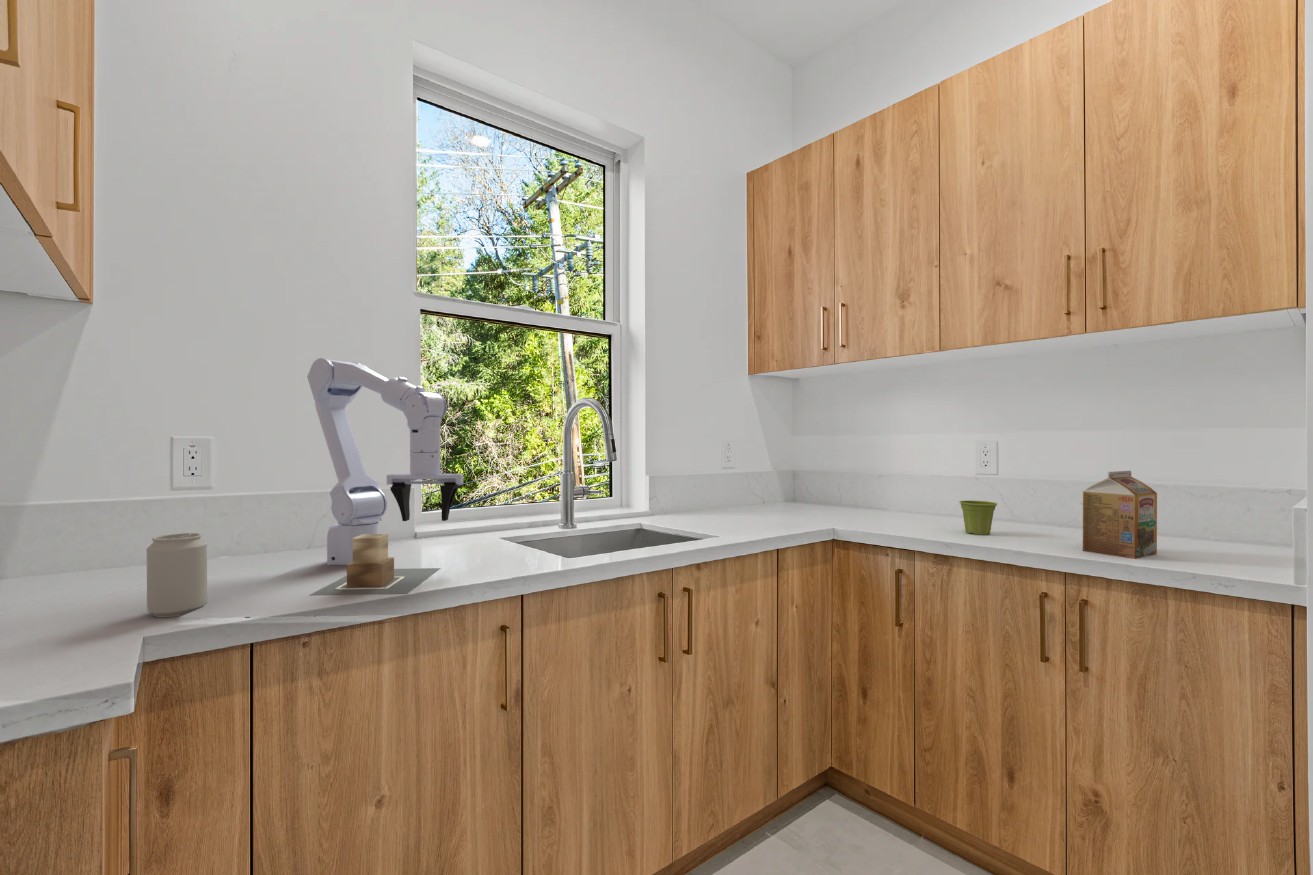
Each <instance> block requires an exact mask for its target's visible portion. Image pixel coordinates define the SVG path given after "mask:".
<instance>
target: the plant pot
mask: <svg viewBox="0 0 1313 875" xmlns="http://www.w3.org/2000/svg"><path fill="white" fill-rule="evenodd" d="M958 503H959V504H960V507H961V509H962V515H963V522H964V523H963V524H964V531H965V533H966V534H973V535H977V536H978V535H980V536H985V535H990V534H991V530H992V523H993V518H994V512H995V510H996V506H997V505H998V503H997V502H993V501H986V500H984V501H983V500H959V502H958Z"/></svg>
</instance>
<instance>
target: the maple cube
mask: <svg viewBox="0 0 1313 875" xmlns="http://www.w3.org/2000/svg"><path fill="white" fill-rule="evenodd" d="M388 558H389V534H388V533H379V534H362V535H360V536H357V537H355V538H353V564H379V563H381V562H383V561H384V560H386V559H388Z"/></svg>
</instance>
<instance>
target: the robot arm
mask: <svg viewBox="0 0 1313 875" xmlns="http://www.w3.org/2000/svg"><path fill="white" fill-rule="evenodd" d="M408 380H409V379H408V378H406V377H404V376H398V377H392V378H390V379H388V378H387V377H385V376H383V375H382V374H380V373H378V372H376V371H374V370H372V369H371V368H369V367H368V366H367V365H366V364H361V363H360V362H354V361H352V362H349V361H343V360H342V361H341V360H333V359H328V358H323V357H320V358H317V359H315V360H314V361H313V362H312V364H311V366H310V369H309V371H308V374H307V381H308V384H309V387H310V391H311V394H312V397H313V400H314V405H315V410H316V413H317V417H318V419H319V424H320V426H321V429H322V432H323V436H324V439H325V442H326V446H327V448H328V453H329V455H330V457H331V462H332V465H333V467H334V471H335V474H336V478H337V481H338V482H337V483H336V484H335V486H333V487H332V489H331V490H330V492H329V496H330V499H331V506H330V509H331V514H332V515H333V517H334V519H335V520H336V521H337V523H336V522H335V523H333V524H332V523H331V525H330V527H329V528H328V531H327V535H326V564H327V565H328V566H329V565H333V566H335V565H343V566H345V565H346V566H347V564H349V563H351V562H353V538H355V537H357V536H360V535H362V534H380V526H379V522H381V521H382V517H383V516H384V515H385V514H386V513H387V510H388V509H387V508H388V499H387V497H386V495H385V493H384V492H383V491H382V490H381V487H380V486H379V482H378V481H377V480H375V479H374V478H372V477H371V476H369V475H368V474H366V470H365V467H364V464H363V461H362V458H361V454H360V452H359V448H358V446H357V441H356V438H355V436H354V433H353V430H352V426H351V423H350V420H349V418H348V414H347V410H346V408H347V405H349V404H351V403H352V402H353V401H354V399H355V398H356V397H357V395H358V394H359V393H360V391H361V389H362V388H366V389H368V390H370V391H372V392H375V393H377V394H380V397H381V400H382V401H383V402H384V403H385V404H386V405H389V406H391V407H393V408H395V409H397V410H399V411H401V412H403V415H404V416H405V418H406V420H407V421H406V422H407V427H408V429H409V473H396V474H395V473H393V474H392V473H390V474H386V485H391V486H390V487H389V488H390V489H389V490H390V491H391V493H392V495H393V496H394V499H395V501H396V503H397V505H398V508H399V512H400V515H401V520H402V522H407V521H409V520H410V518H411V517H410V516H411V514H410V510H411V509H410V498H411V491H412V490H411V489H412V485H440V486H439V488H440V496H441V521H442V522H447V521H448V520H449V515H450V510H451V507H452V503H453V501H454V498H455V496H456V494H457V493H458V490H459V487H460V485H463V484H464V473H441V420H442V419H443V418H444V417H445V416H446V413H447V408H448V407H447V400H446V399H445V397H444V396H443V395H441V394H440V393H439V392H438V391H437V392H436V391H435V392H427V391H426V390H425V387H423V386H421V385H414V384H411V383H410V382H408ZM417 480H419V481H417ZM421 480H424V481H421ZM425 480H427V481H425ZM428 480H429V481H428ZM431 480H432V481H431Z"/></svg>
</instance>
